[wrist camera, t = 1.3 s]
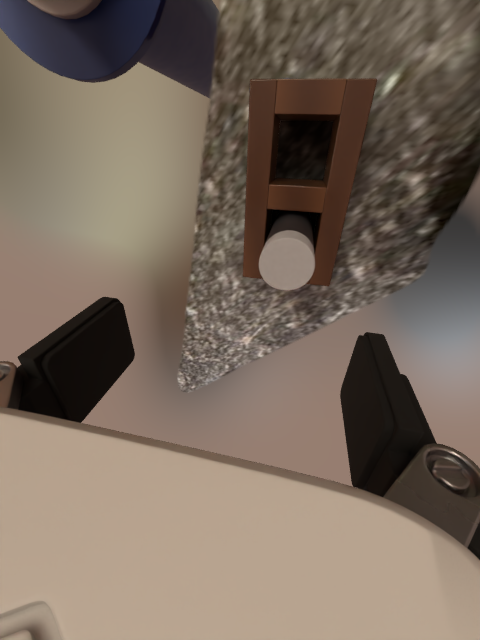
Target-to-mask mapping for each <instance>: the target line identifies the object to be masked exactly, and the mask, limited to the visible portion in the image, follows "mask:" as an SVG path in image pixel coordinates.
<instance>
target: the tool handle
mask: <svg viewBox="0 0 480 640" xmlns="http://www.w3.org/2000/svg"><path fill="white" fill-rule="evenodd" d="M314 269H315V254H314V243H313V231H312V220H311V215H310V213H309V212H302V211H288V210H280V211H279V213H278V214H277V217H276V219H275V221H274V224H273V226H272V229H271V231H270V233H269V236H268V238H267V241H266V243H265V245H264V248H263V250H262V253H261V255H260V258H259V270H260V274H261V276H262V278H263V279H264V280H265V282H266V283H267V284H269V285H270V286H272V287H273V288H276V289H278V290H284V291H289V290H295V289H298V288H300V287H302V286H303V285H305V284H306V283H307V282H308V281H309V280H310V278H311V277H312V275H313V273H314Z"/></svg>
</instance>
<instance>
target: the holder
mask: <svg viewBox="0 0 480 640" xmlns="http://www.w3.org/2000/svg"><path fill="white" fill-rule="evenodd" d="M376 83H377V79H278V80H277V79H251V80H250V97H249V124H248V151H247V178H246V205H245V233H244V260H243V277H251V278H260V279H261V278H262V276H261V274H260V270H259V258H260V255H261V253H262V250H263V248H264V245H265V243H266V241H267V238H268V236H269V233H270V231H271V222H272V211H273V210H288V211H302V212H316V213H317V217H316V223H315V228H314V234H313V243H314V254H315V269H314V273H313V275H312V277H311V278H310V280H309V281H308V282H307V283H306V284H314V285H323V286H329V285H330V281H331V277H332V272H333V268H334V264H335V260H336V255H337V251H338V247H339V242H340V238H341V234H342V229H343V225H344V221H345V216H346V212H347V208H348V203H349V199H350V195H351V190H352V186H353V182H354V178H355V173H356V169H357V165H358V160H359V156H360V152H361V147H362V143H363V139H364V134H365V130H366V126H367V121H368V117H369V113H370V108H371V104H372V100H373V96H374V91H375V87H376ZM281 120H290V121H333V126H332V132H331V137H330V143H329V149H328V154H327V160H326V166H325V172H324V177H323V180H307V179H288V178H275V177H276V166H277V154H278V143H279V132H280V121H281ZM262 279H263V278H262Z"/></svg>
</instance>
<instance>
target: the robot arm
mask: <svg viewBox="0 0 480 640" xmlns="http://www.w3.org/2000/svg"><path fill="white" fill-rule="evenodd" d="M27 1H28V2H30V3H31V4H33V5H34V6H36V7H37V8H39V9H40V10H42V11H44V12H46V13H48V14H50V15H52V16H54V17H58V18H62V19H77V18H80V17H83V16H85V15H87V14H89V13H90V12H91V11H92V10H94V9H95V8H96V7H97V6H98V4H99V3H100V2H101V0H27ZM134 356H135V353H134V348H133V344H132V340H131V336H130V331H129V327H128V323H127V318H126V314H125V310H124V306H123V304H122V303H121V302H120V301H119V300H118V299H116V298H109V297H102V298H100V299H99V300H97V301H96V302H95V303H93V304H92V305H90V306H89V307H88V308H86V309H85V310H83V311H82V312H80V313H79V314H78V315H76V316H75V317H73V318H72V319H71V320H69V321H68V322H66V323H65V324H63V325H62V326H61V327H59V328H58V329H56V330H55V331H54V332H52V333H51V334H49V335H48V336H47V337H45V338H44V339H42V340H41V341H39V342H38V343H37V344H35V345H34V346H32V347H31V348H30V349H28V350H27V351H25V352H24V353H22V354H21V355H20V356H18V359H19V361H20V363H21V365H20V366H19V367H18V368H17V367H16V365H15V364H14V363H12V362H8V361H0V640H480V469H479V467H478V466H477V465H476V464H475V463H474V462H473V461H472V460H470V459H469V458H468V457H467V456H465V455H464V454H462V453H461V452H459V451H457V450H455V449H453V448H451V447H448V446H445V445H443V444H437V443H436V441H435V439H434V437H433V434H432V432H431V430H430V428H429V425H428V423H427V421H426V418H425V416H424V414H423V411H422V409H421V407H420V405H419V402H418V400H417V398H416V396H415V394H414V391H413V389H412V387H411V384H410V382H409V380H408V378H407V377H406V376H405V375H403V374H400V372H399V370H398V368H397V366H396V363H395V360H394V358H393V355H392V353H391V351H390V348H389V346H388V343H387V341H386V339H385V336H384V335H382V334H375V333H368V332H366V333H365V334H364V336H361V335H359V336H358V339H357V341H356V345H355V347H354V351H353V354H352V357H351V360H350V363H349V366H348V369H347V372H346V375H345V378H344V381H343V384H342V388H341V395H340V397H341V405H342V413H343V420H344V427H345V435H346V443H347V450H348V458H349V465H350V473H351V481H352V485H353V487H352V486H348V485H344V484H341V483H338V482H334V481H331V480H326V479H323V478H318V477H315V476H310V475H306V474H302V473H298V472H294V471H290V470H286V469H282V468H278V467H274V466H269V465H265V464H261V463H256V462H252V461H247V460H243V459H239V458H235V457H230V456H226V455H221V454H217V453H213V452H209V451H204V450H200V449H195V448H191V447H186V446H182V445H177V444H173V443H169V442H164V441H160V440H155V439H151V438H146V437H142V436H137V435H133V434H128V433H124V432H119V431H115V430H111V429H106V428H101V427H96V426H92V425H88V424H83V423H81V422H82V421H83V420H84V419H85V417H86V416H87V415H88V414H89V413H90V412H91V410H92V409H93V408H94V407H95V406H96V404H97V403H98V402H99V401H100V400H101V398H102V397H103V396H104V395H105V393H106V392H107V391H108V390H109V389H110V388H111V386H112V385H113V384H114V383H115V382H116V380H117V379H118V378H119V377H120V376H121V374H122V373H123V372H124V371H125V370H126V368H127V367H128V366H129V365H130V364H131V362H132V361H133V359H134ZM355 487H356V488H355Z"/></svg>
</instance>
